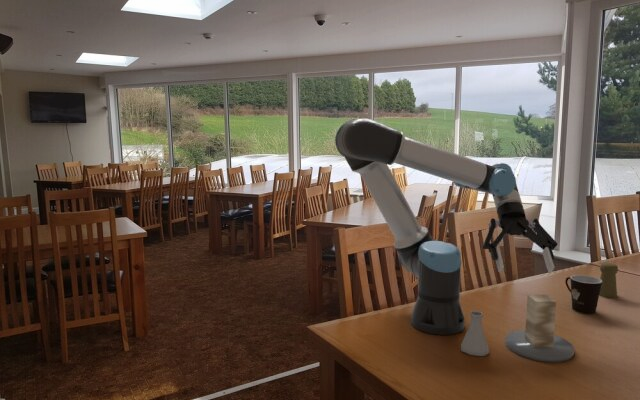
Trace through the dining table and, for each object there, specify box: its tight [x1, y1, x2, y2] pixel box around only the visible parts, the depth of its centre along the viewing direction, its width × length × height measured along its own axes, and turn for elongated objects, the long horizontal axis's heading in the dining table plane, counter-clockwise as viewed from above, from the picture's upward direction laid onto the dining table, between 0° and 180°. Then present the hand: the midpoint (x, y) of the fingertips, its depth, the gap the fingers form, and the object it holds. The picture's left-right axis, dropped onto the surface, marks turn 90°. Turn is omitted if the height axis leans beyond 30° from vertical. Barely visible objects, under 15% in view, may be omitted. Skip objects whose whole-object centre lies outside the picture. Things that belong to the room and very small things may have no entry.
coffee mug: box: [565, 274, 602, 315], centre depth 146 cm, size 12×9×10 cm
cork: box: [599, 262, 619, 299], centre depth 158 cm, size 6×6×11 cm
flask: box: [460, 310, 490, 357], centre depth 118 cm, size 7×7×10 cm
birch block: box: [524, 294, 557, 347], centre depth 119 cm, size 5×5×12 cm
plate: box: [504, 329, 575, 363], centre depth 120 cm, size 16×16×1 cm
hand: (526, 270), depth 128 cm, fingers open, 13 cm apart
